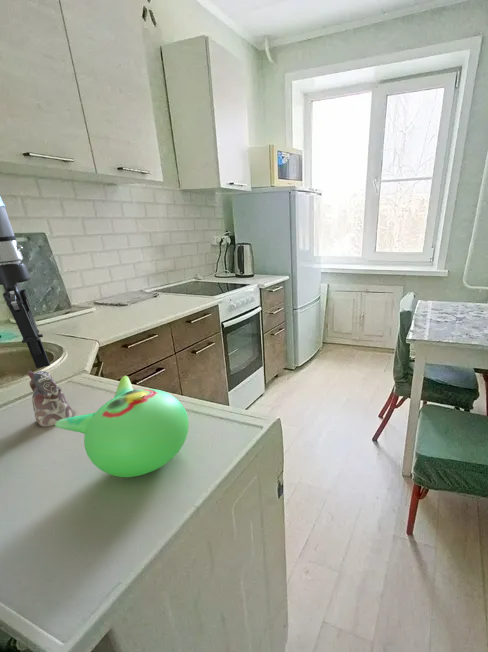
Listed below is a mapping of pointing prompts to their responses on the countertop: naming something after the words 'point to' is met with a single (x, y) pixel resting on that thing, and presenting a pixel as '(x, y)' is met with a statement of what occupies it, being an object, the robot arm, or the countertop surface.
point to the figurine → (48, 399)
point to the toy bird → (132, 430)
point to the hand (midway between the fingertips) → (43, 365)
